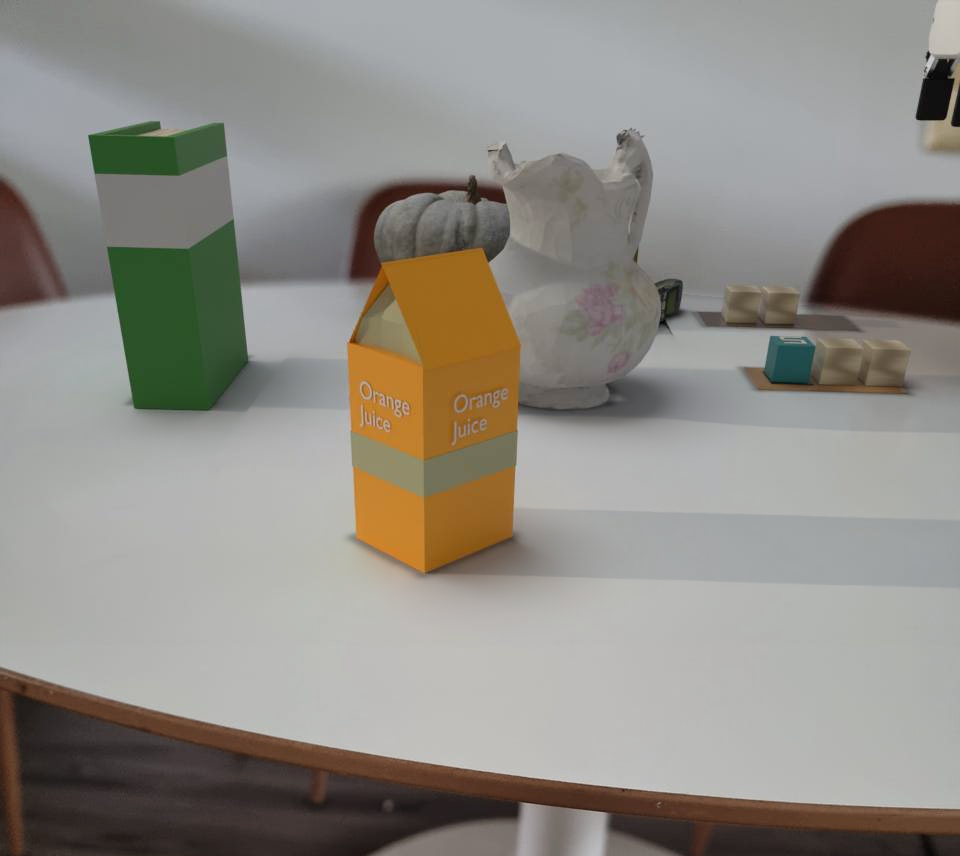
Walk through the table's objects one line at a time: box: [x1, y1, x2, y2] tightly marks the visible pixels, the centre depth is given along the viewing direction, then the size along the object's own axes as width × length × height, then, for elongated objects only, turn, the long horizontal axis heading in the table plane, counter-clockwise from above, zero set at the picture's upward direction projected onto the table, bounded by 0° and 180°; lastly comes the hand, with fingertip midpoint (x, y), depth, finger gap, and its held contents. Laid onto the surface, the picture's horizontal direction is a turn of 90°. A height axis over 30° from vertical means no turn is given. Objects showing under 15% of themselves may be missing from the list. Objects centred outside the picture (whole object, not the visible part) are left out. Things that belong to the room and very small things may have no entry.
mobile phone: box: [654, 278, 684, 324], centre depth 130 cm, size 5×3×15 cm
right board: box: [742, 337, 912, 395], centre depth 107 cm, size 16×8×5 cm, turn 88°
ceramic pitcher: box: [484, 127, 661, 410], centre depth 97 cm, size 22×20×25 cm
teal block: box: [764, 335, 816, 383], centre depth 106 cm, size 4×4×4 cm
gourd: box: [373, 174, 510, 267], centre depth 132 cm, size 25×25×17 cm
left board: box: [696, 284, 860, 332], centre depth 130 cm, size 20×8×5 cm, turn 88°
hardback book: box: [87, 120, 249, 411], centre depth 97 cm, size 18×7×24 cm, turn 179°
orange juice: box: [346, 248, 522, 574], centre depth 66 cm, size 8×9×20 cm
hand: (947, 123), depth 102 cm, fingers open, 9 cm apart
